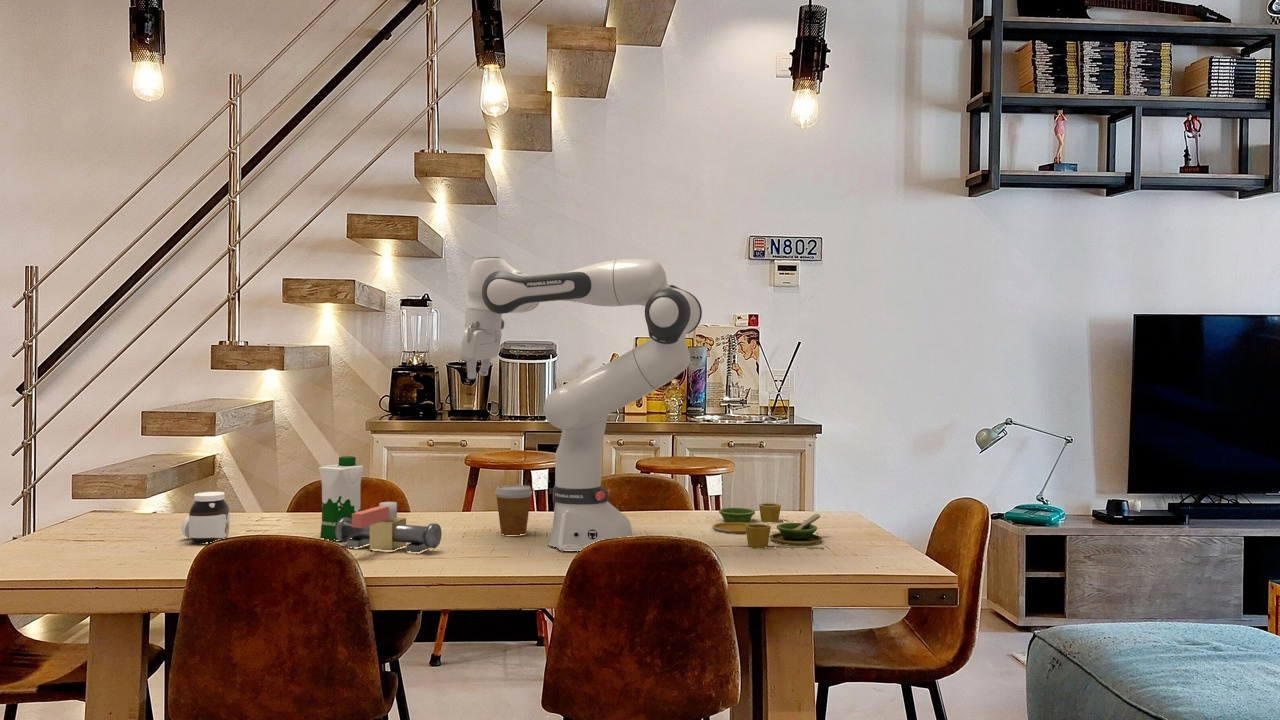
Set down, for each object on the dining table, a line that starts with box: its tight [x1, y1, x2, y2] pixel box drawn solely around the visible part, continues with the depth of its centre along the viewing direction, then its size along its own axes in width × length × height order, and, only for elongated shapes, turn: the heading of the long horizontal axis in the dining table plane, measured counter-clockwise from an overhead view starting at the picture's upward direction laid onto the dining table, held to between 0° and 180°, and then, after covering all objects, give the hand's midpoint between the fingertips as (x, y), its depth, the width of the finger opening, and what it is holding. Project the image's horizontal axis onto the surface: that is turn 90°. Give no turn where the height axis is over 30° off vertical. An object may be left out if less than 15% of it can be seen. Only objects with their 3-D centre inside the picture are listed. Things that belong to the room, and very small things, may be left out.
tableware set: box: [712, 502, 825, 550], centre depth 247 cm, size 41×28×6 cm
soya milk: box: [318, 455, 364, 543], centre depth 237 cm, size 9×9×20 cm
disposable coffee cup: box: [494, 484, 533, 535], centre depth 243 cm, size 10×10×12 cm
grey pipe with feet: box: [335, 517, 442, 552], centre depth 225 cm, size 25×6×7 cm, turn 72°
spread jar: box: [180, 491, 231, 544], centre depth 234 cm, size 12×11×12 cm
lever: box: [352, 501, 398, 528], centre depth 219 cm, size 14×4×4 cm, turn 162°
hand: (477, 377), depth 238 cm, fingers open, 8 cm apart
